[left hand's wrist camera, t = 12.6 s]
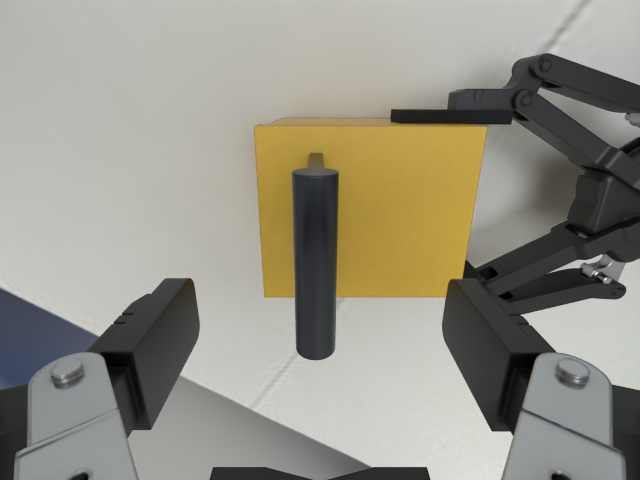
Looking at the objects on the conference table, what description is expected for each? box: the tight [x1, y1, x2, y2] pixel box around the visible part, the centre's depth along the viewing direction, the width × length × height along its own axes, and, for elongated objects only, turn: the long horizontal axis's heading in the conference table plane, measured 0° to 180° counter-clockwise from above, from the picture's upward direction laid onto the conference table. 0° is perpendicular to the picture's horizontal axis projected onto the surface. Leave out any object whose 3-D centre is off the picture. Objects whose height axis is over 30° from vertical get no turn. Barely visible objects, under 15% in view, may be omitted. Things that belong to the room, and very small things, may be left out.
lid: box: [254, 125, 487, 360], centre depth 17 cm, size 12×10×8 cm
